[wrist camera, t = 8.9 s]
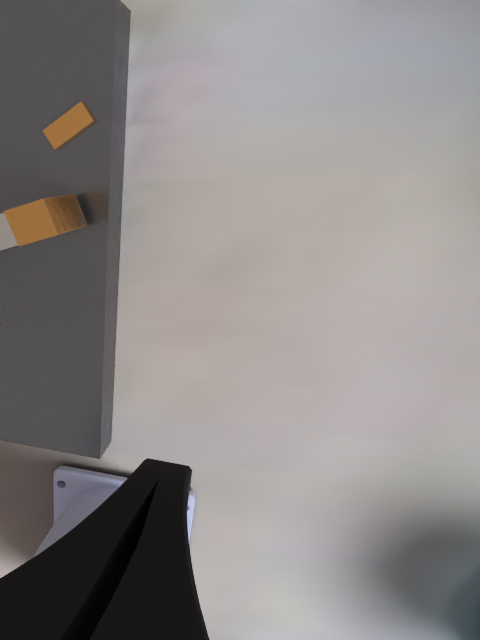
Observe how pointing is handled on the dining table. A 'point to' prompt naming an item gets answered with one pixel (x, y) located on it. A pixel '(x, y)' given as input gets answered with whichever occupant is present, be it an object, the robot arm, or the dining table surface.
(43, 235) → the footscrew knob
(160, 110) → the dining table surface
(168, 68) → the dining table surface
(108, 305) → the grey flat square slab
